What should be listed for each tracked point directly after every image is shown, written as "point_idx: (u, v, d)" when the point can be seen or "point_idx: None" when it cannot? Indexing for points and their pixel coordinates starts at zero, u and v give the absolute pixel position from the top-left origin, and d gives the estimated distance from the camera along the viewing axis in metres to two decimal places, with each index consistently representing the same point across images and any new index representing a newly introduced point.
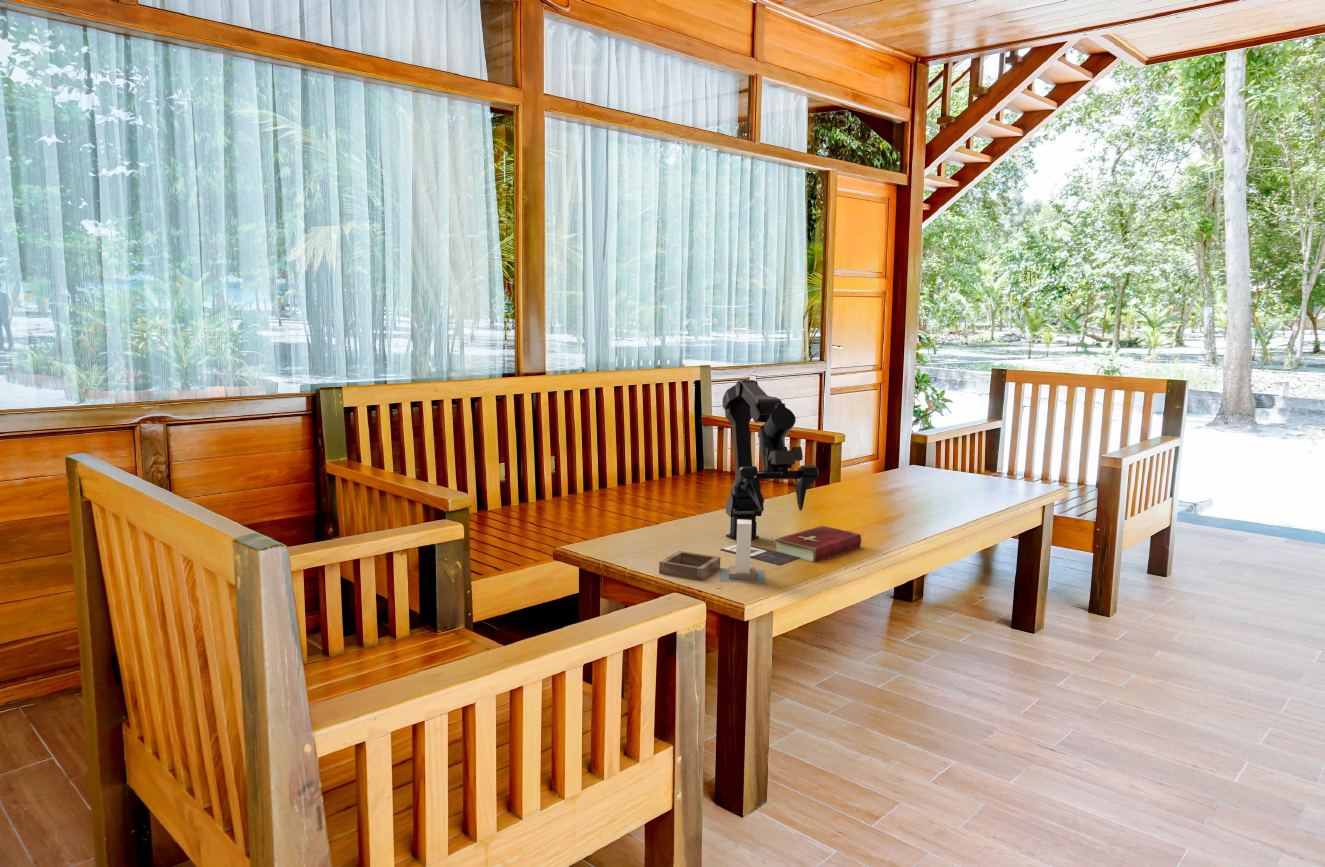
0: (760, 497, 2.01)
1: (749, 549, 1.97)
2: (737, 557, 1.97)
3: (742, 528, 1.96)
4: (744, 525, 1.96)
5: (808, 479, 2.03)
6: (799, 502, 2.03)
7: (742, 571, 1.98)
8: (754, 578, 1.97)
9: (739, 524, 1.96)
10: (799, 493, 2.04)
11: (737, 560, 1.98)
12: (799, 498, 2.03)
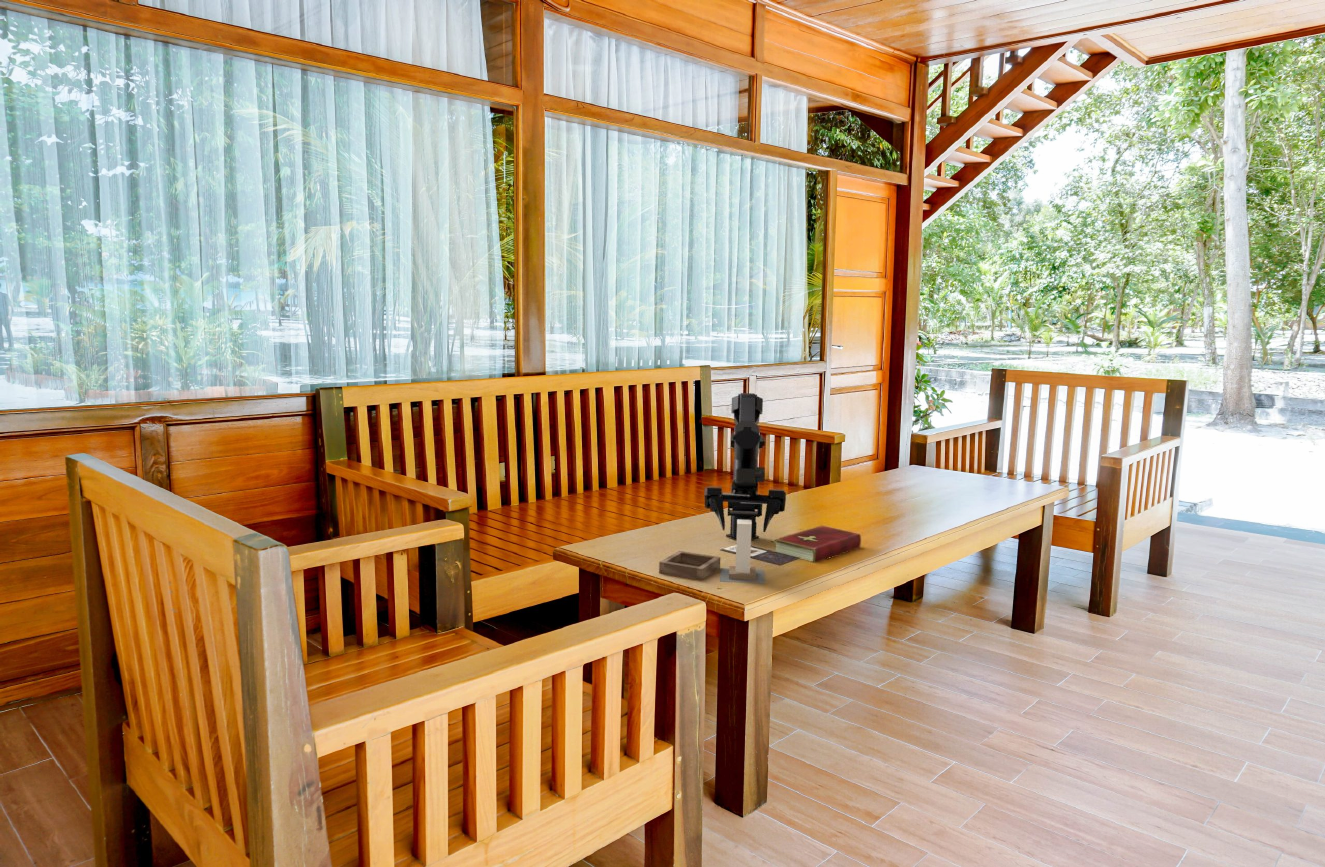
0: (722, 516, 2.03)
1: (749, 549, 1.97)
2: (737, 557, 1.97)
3: (742, 528, 1.96)
4: (744, 525, 1.96)
5: (773, 501, 2.02)
6: None
7: (742, 571, 1.98)
8: (754, 578, 1.97)
9: (739, 524, 1.96)
10: (765, 515, 2.03)
11: (737, 560, 1.98)
12: (764, 520, 2.02)
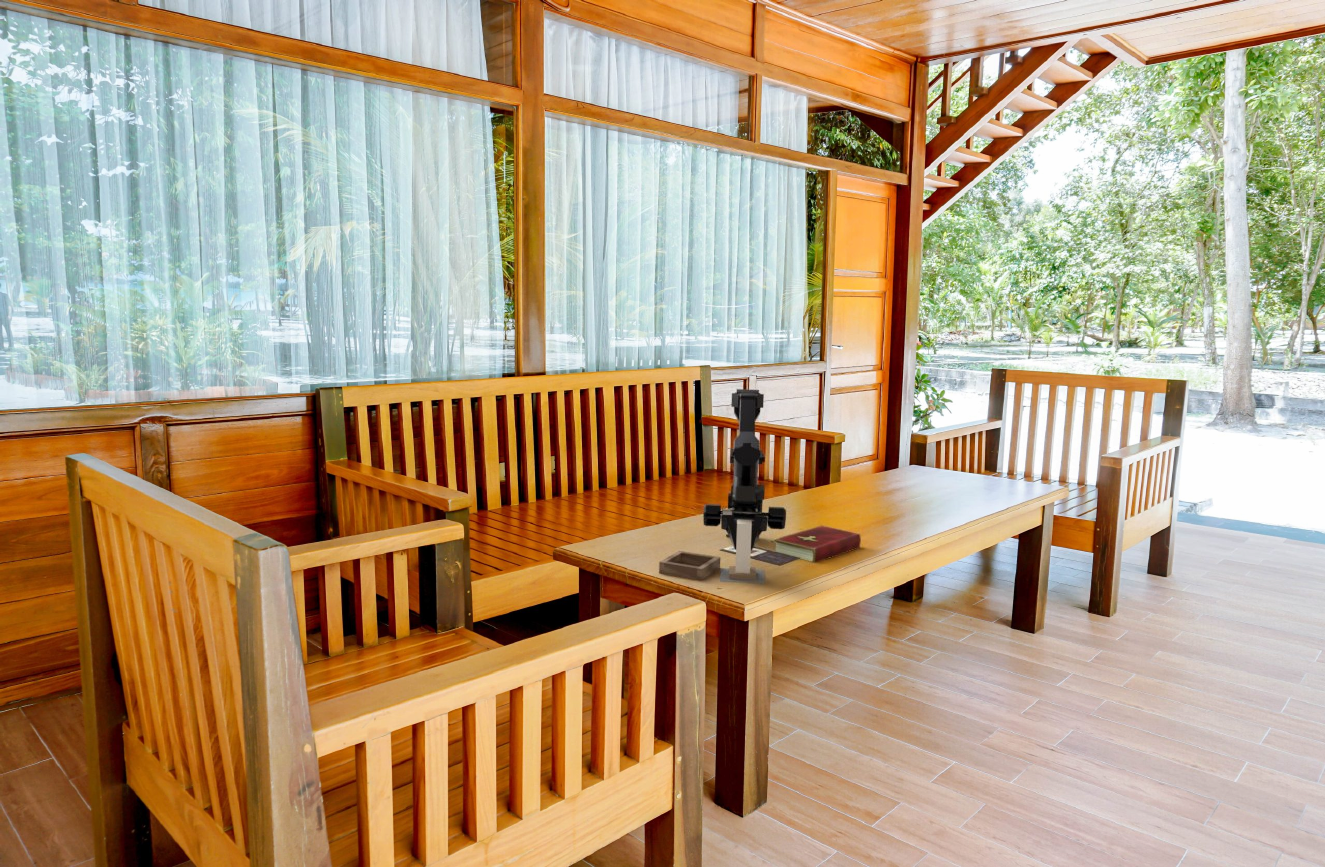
0: (734, 535, 1.99)
1: (749, 549, 1.97)
2: (737, 557, 1.97)
3: (742, 528, 1.96)
4: (744, 525, 1.96)
5: (760, 518, 1.99)
6: None
7: (742, 571, 1.98)
8: (754, 578, 1.97)
9: (739, 524, 1.96)
10: None
11: (737, 560, 1.98)
12: (751, 538, 1.99)
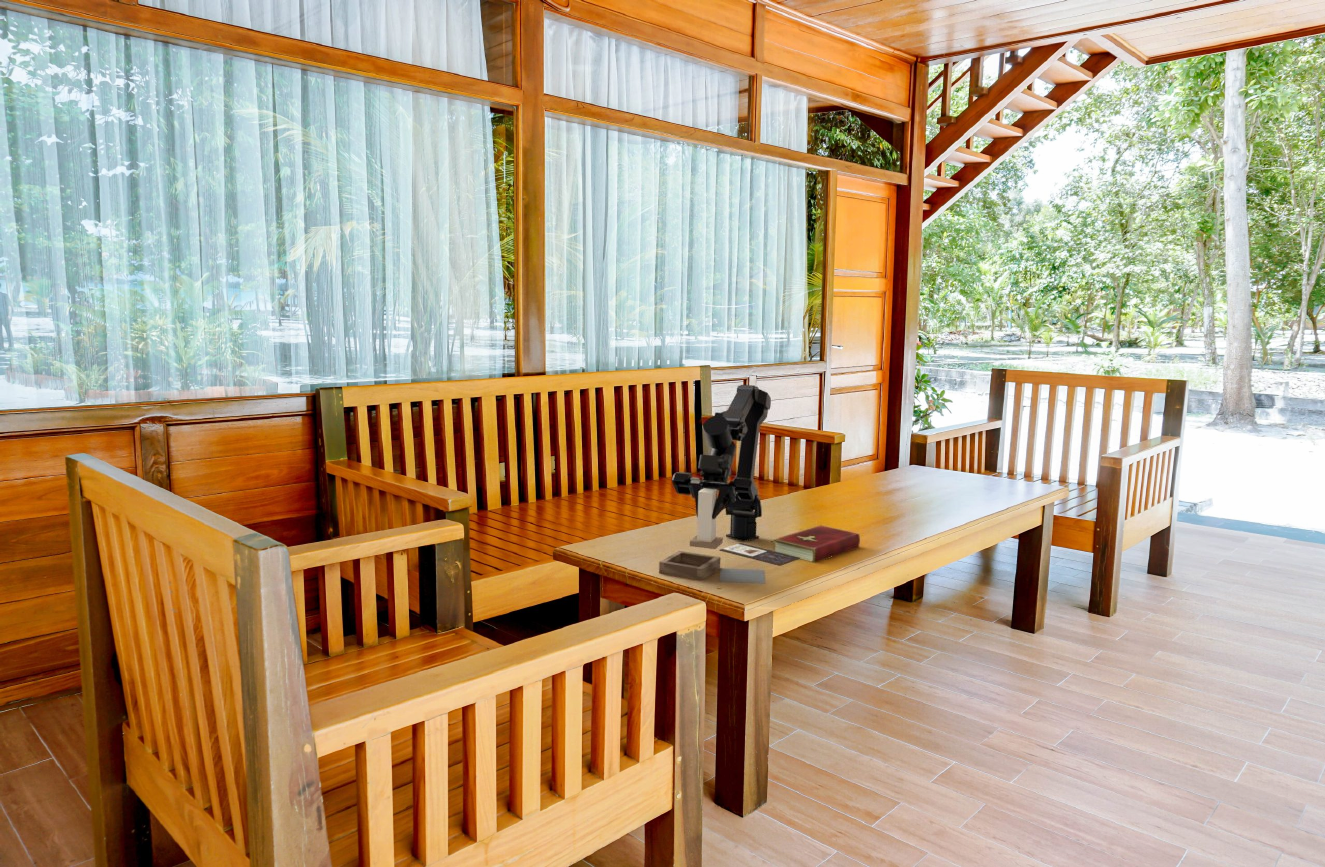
0: None
1: (710, 518, 1.98)
2: (698, 525, 1.99)
3: (703, 496, 1.97)
4: (705, 493, 1.97)
5: (725, 488, 1.99)
6: None
7: (703, 539, 1.99)
8: (713, 547, 1.97)
9: (700, 492, 1.98)
10: None
11: (698, 528, 1.99)
12: None
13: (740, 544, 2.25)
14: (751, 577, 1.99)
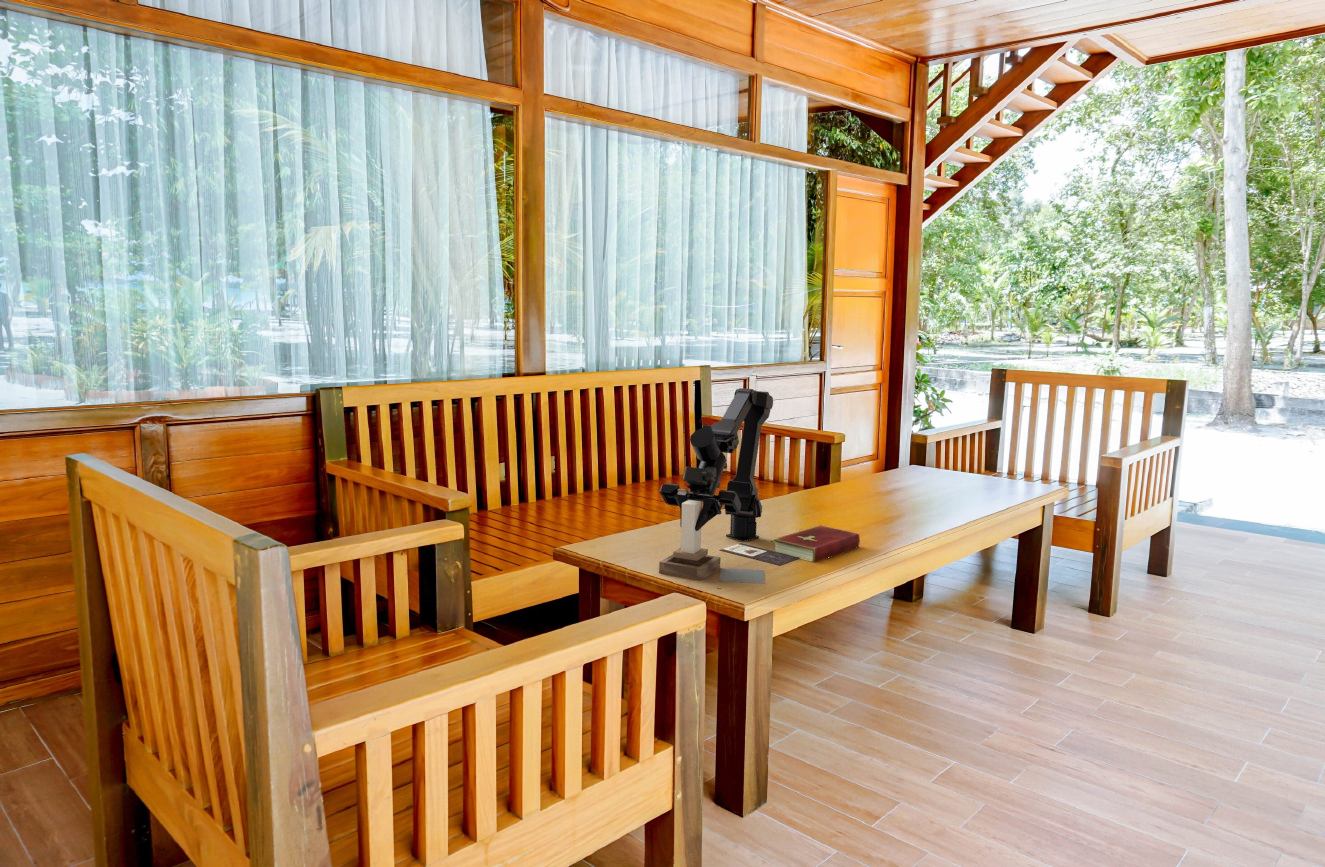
0: None
1: (693, 529, 1.99)
2: (682, 536, 2.01)
3: (686, 508, 1.99)
4: (688, 505, 1.99)
5: (709, 501, 2.00)
6: None
7: (686, 551, 2.01)
8: (695, 558, 1.99)
9: (684, 504, 2.00)
10: None
11: (682, 539, 2.01)
12: None
13: (740, 545, 2.25)
14: (751, 577, 1.99)
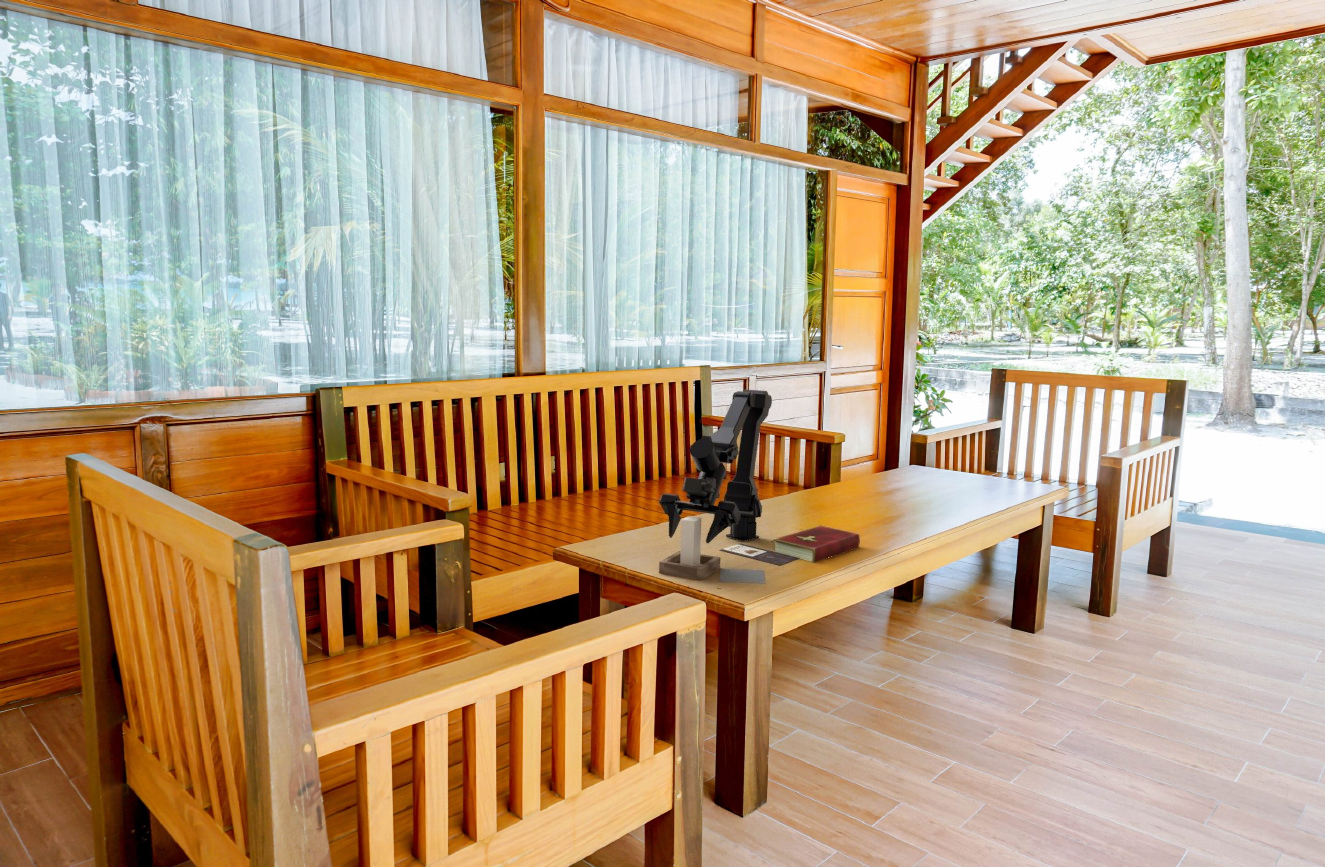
0: (671, 523, 2.04)
1: (692, 546, 2.00)
2: (681, 552, 2.01)
3: (685, 524, 2.00)
4: (687, 522, 2.00)
5: (720, 513, 1.99)
6: None
7: None
8: None
9: (683, 520, 2.00)
10: None
11: (681, 555, 2.01)
12: None
13: (740, 545, 2.25)
14: (751, 577, 1.99)
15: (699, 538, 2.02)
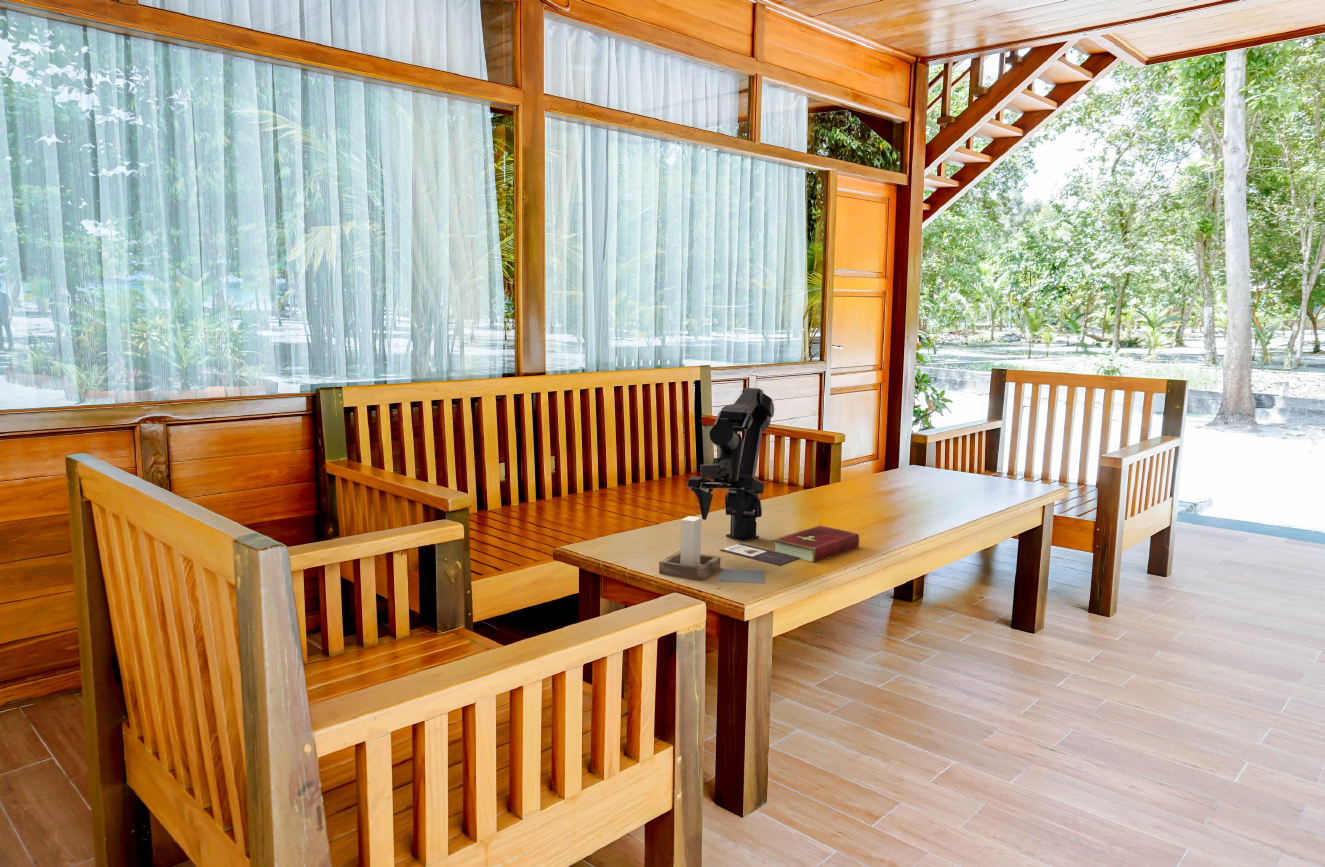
0: (702, 507, 2.13)
1: (692, 546, 2.00)
2: (681, 553, 2.01)
3: (685, 524, 2.00)
4: (687, 522, 2.00)
5: (740, 491, 2.06)
6: None
7: None
8: None
9: (683, 520, 2.00)
10: None
11: (681, 555, 2.01)
12: None
13: (740, 545, 2.25)
14: (751, 577, 1.99)
15: (699, 538, 2.02)
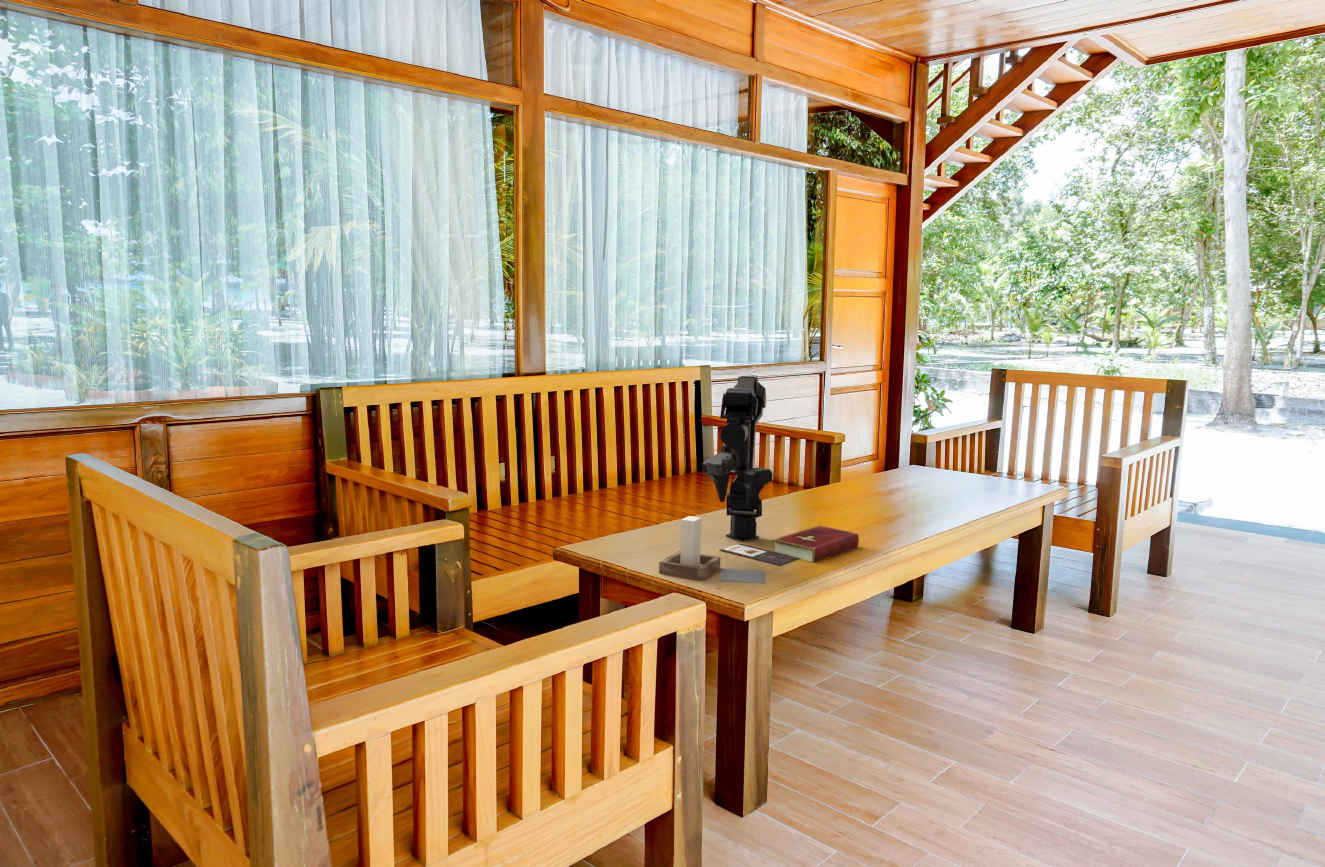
0: (718, 490, 2.16)
1: (692, 546, 2.00)
2: (681, 553, 2.01)
3: (685, 524, 2.00)
4: (687, 522, 2.00)
5: (747, 485, 2.05)
6: None
7: None
8: None
9: (683, 520, 2.00)
10: None
11: (681, 555, 2.01)
12: None
13: (740, 545, 2.25)
14: (751, 577, 1.99)
15: (699, 538, 2.02)
